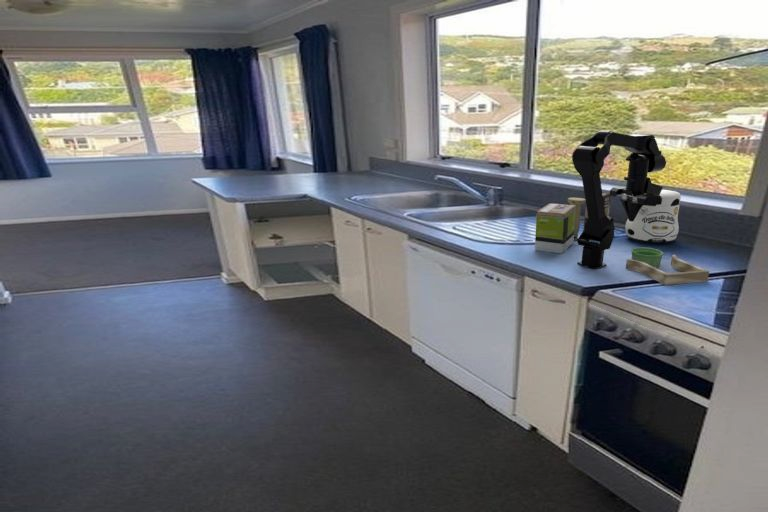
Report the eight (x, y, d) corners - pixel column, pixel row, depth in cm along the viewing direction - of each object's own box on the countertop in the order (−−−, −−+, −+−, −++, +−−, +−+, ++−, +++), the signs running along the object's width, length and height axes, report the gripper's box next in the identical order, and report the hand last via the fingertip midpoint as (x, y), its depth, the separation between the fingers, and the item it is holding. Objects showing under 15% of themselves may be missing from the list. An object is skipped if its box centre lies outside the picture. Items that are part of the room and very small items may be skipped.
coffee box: (598, 237, 184) (603, 196, 179) (582, 235, 188) (586, 194, 183) (607, 232, 190) (612, 192, 185) (591, 230, 194) (595, 191, 189)
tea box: (546, 240, 183) (549, 202, 179) (573, 243, 178) (577, 204, 173) (533, 250, 172) (536, 210, 167) (562, 254, 166) (565, 213, 161)
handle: (568, 234, 190) (571, 197, 185) (584, 237, 185) (587, 199, 181) (562, 236, 187) (565, 198, 182) (578, 239, 182) (582, 201, 178)
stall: (624, 267, 151) (625, 258, 150) (673, 263, 153) (674, 254, 152) (659, 285, 136) (661, 275, 135) (713, 280, 138) (714, 270, 137)
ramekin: (663, 270, 148) (665, 256, 147) (631, 267, 151) (632, 254, 150) (659, 261, 156) (661, 248, 155) (628, 258, 159) (630, 246, 158)
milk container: (655, 249, 168) (662, 199, 162) (613, 238, 183) (619, 191, 177) (687, 242, 175) (695, 193, 169) (644, 231, 190) (650, 186, 184)
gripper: (681, 176, 146) (673, 226, 151) (640, 169, 164) (635, 213, 169) (648, 179, 145) (641, 228, 150) (611, 171, 162) (606, 215, 167)
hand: (631, 221), depth 159 cm, fingers closed
